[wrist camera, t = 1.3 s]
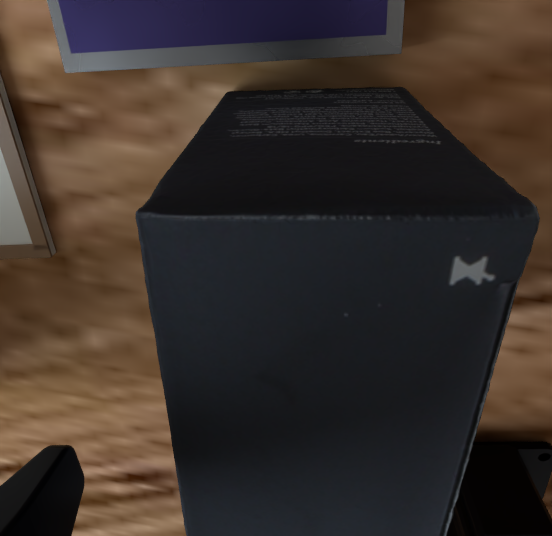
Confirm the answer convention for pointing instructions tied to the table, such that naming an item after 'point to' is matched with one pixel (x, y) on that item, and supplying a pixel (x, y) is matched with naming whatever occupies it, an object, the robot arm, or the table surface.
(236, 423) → the box
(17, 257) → the card
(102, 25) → the ink pad
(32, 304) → the table surface
